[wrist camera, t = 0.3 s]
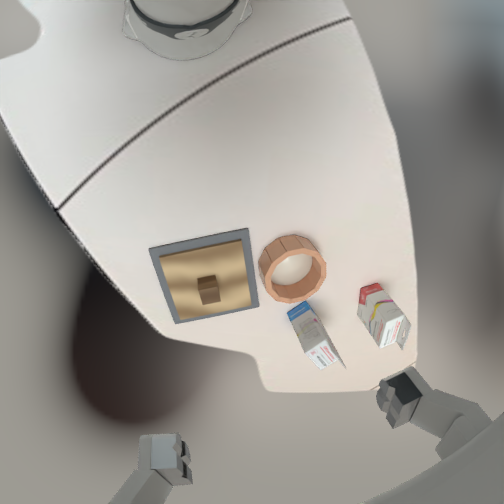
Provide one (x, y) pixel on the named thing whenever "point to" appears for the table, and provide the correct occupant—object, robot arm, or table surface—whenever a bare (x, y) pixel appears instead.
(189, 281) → the oak cover
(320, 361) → the ink box
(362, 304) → the ink cartridge box
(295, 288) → the terracotta bowl
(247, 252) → the rubber mat
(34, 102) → the table surface
